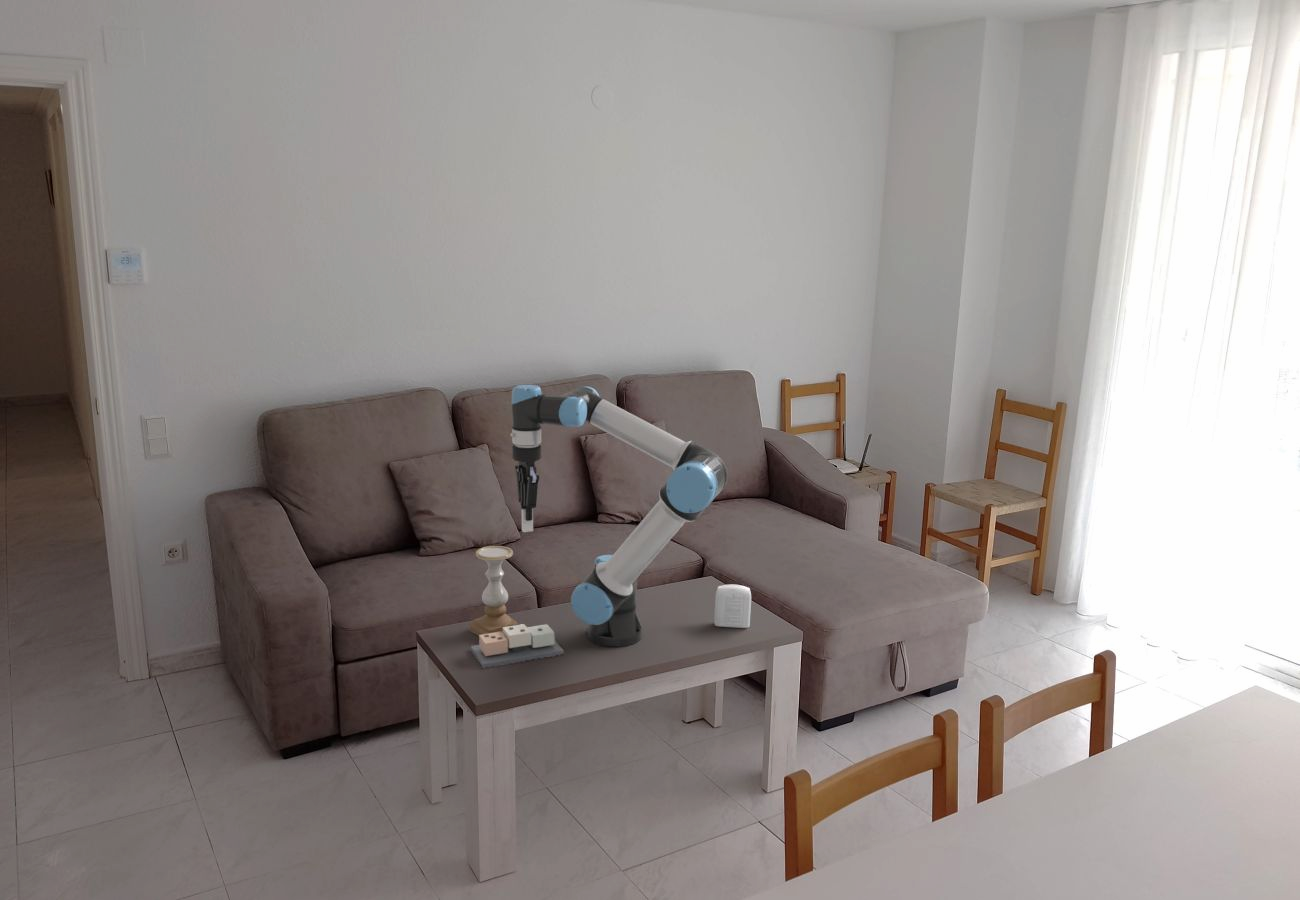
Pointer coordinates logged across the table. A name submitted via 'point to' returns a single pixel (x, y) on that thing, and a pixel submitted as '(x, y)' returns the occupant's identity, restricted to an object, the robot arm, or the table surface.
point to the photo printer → (732, 606)
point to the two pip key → (517, 635)
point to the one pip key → (541, 636)
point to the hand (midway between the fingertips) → (527, 530)
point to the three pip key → (493, 643)
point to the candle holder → (493, 593)
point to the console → (516, 654)
